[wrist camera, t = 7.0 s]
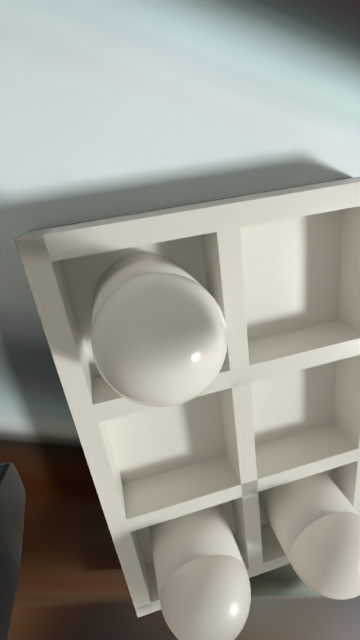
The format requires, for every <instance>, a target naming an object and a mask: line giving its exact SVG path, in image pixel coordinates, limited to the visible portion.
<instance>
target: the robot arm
mask: <svg viewBox="0 0 360 640" xmlns="http://www.w3.org/2000/svg"><path fill="white" fill-rule="evenodd" d="M24 512H25V489H24V486H23V484H22V482H21V479H20V477H19V475H18V473H17V470H16V468H15V466H14V465H13V464H12V463H10V462H7V463H3V464H0V640H7V639H8V634H9V628H10V623H11V617H12V612H13V606H14V601H15V595H16V590H17V584H18V578H19V572H20V563H21V551H22V538H23V525H24Z"/></svg>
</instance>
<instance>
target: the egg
mask: <svg viewBox="0 0 360 640" xmlns="http://www.w3.org/2000/svg"><path fill="white" fill-rule="evenodd" d="M227 344H228V338H227V327H226V322H225V319H224V316H223V313H222V311H221V309H220V307H219V305H218V304H217V302H216V301H215V299H214V298H213V297H212V295H211V294H210V293H209V292H208V291H207V290H206V289H205V288H204V287H203V286H202V285H201V284H199V283H198V282H197V281H196V280H195V279H194V278H193V277H192V276H190V275H189V274H188V273H187V272H186V271H185V270H184V269H183V268H182V267H180V266H179V265H178V264H177V263H176V262H174V261H173V260H171V259H169V258H167V257H165V256H163V255H159V254H156V253H143V252H142V253H135V254H131V255H128V256H125V257H123V258H121V259H119V260H117V261H115V262H114V263H113V264H111V265H110V266H109V267H108V268H107V269H106V270H105V271H104V273H103V274H102V275H101V277H100V279H99V280H98V282H97V285H96V287H95V291H94V295H93V310H92V330H91V346H92V353H93V358H94V361H95V363H96V366H97V368H98V370H99V372H100V374H101V376H102V377H103V379H104V380H105V381H106V383H107V384H108V385H109V386H110V387H111V388H112V389H113V390H114V391H115V392H116V393H118V394H119V395H120V396H122V397H124V398H125V399H127V400H129V401H131V402H133V403H136V404H138V405H142V406H147V407H157V408H164V407H172V406H177V405H180V404H183V403H185V402H188V401H190V400H192V399H193V398H195V397H197V396H198V395H199V394H201V393H202V392H203V391H204V390H206V389H207V388H208V387H209V385H210V384H211V383H212V382H213V381H214V379H215V378H216V376H217V375H218V373H219V372H220V370H221V368H222V365H223V363H224V360H225V356H226V351H227Z"/></svg>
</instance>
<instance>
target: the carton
mask: <svg viewBox="0 0 360 640" xmlns="http://www.w3.org/2000/svg"><path fill="white" fill-rule="evenodd" d="M15 243H16V246H17V249H18V252H19V255H20V258H21V261H22V264H23V267H24V271H25V274H26V277H27V280H28V283H29V286H30V289H31V292H32V295H33V298H34V301H35V304H36V307H37V310H38V313H39V316H40V319H41V322H42V326H43V329H44V332H45V335H46V338H47V341H48V344H49V347H50V350H51V353H52V356H53V359H54V362H55V365H56V368H57V371H58V374H59V377H60V381H61V384H62V387H63V390H64V393H65V396H66V399H67V402H68V405H69V408H70V411H71V414H72V417H73V420H74V423H75V426H76V429H77V432H78V436H79V439H80V442H81V445H82V448H83V451H84V454H85V457H86V460H87V463H88V466H89V469H90V472H91V475H92V478H93V481H94V484H95V487H96V491H97V494H98V497H99V500H100V503H101V506H102V509H103V512H104V515H105V518H106V521H107V524H108V527H109V530H110V533H111V536H112V539H113V543H114V546H115V549H116V552H117V555H118V558H119V561H120V564H121V567H122V570H123V573H124V576H125V579H126V582H127V585H128V588H129V591H130V594H131V598H132V601H133V604H134V607H135V610H136V613H137V616H138V617H140V616H144V615H146V614H149V613H152V612H155V611H158V610H160V609H161V610H162V613H163V616H164V618H165V621H166V623H167V625H168V626H169V628H170V629H171V631H172V632H173V634H174V635H175V636H176V637H177V638H178V639H179V640H234V639H235V638H236V637H237V636H238V634H239V633H240V632H241V630H242V628H243V626H244V624H245V622H246V620H247V616H248V613H249V608H250V602H251V589H250V582H249V578H251V577H254V576H256V575H259V574H262V573H265V572H268V571H270V570H273V569H276V568H279V567H282V566H285V565H287V564H291V566H292V567H293V569H294V571H295V572H296V574H297V575H298V576H299V578H300V579H301V580H302V581H303V582H304V583H305V584H306V585H307V586H308V587H310V588H311V589H312V590H314V591H316V592H317V593H319V594H321V595H323V596H326V597H328V598H332V599H341V600H344V599H350V598H354V597H357V596H359V595H360V177H353V178H347V179H341V180H335V181H329V182H323V183H317V184H311V185H305V186H299V187H293V188H287V189H281V190H275V191H269V192H263V193H257V194H251V195H245V196H239V197H232V198H226V199H220V200H214V201H208V202H202V203H196V204H190V205H184V206H178V207H172V208H166V209H160V210H154V211H148V212H142V213H136V214H130V215H124V216H118V217H112V218H105V219H99V220H93V221H87V222H81V223H75V224H69V225H63V226H57V227H51V228H45V229H39V230H33V231H29V232H27V233H26V234H24V235H22V236H20V237H19V238H17V239H15ZM142 252H143V253H156V254H159V255H163V256H165V257H167V258H169V259H171V260H173V261H174V262H176V263H177V264H178V265H179V266H180V267H182V268H183V269H184V270H185V271H186V272H187V273H188V274H189V275H190V276H192V277H193V278H194V279H195V280H196V281H197V282H198V283H199V284H201V285H202V286H203V287H204V288H205V289H206V290H207V291H208V292H209V293H210V294H211V295H212V297H213V298H214V299H215V301H216V302H217V304H218V305H219V307H220V309H221V311H222V313H223V316H224V319H225V322H226V327H227V338H228V344H227V351H226V356H225V360H224V363H223V365H222V368H221V370H220V372H219V373H218V375H217V376H216V378H215V379H214V381H213V382H212V383H211V384H210V385H209V387H208V388H207V389H206V390H204V391H203V392H202V393H201V394H199V395H198V396H197V397H195V398H193V399H192V400H190V401H188V402H185V403H183V404H180V405H177V406H172V407H164V408H157V407H147V406H142V405H138V404H136V403H133V402H131V401H129V400H127V399H125V398H124V397H122V396H120V395H119V394H118V393H116V392H115V391H114V390H113V389H112V388H111V387H110V386H109V385H108V384H107V383H106V381H105V380H104V379H103V377H102V376H101V374H100V372H99V370H98V368H97V366H96V363H95V361H94V358H93V353H92V346H91V330H92V310H93V295H94V291H95V287H96V285H97V282H98V280H99V279H100V277H101V275H102V274H103V273H104V271H105V270H106V269H107V268H108V267H109V266H110V265H111V264H113V263H114V262H115V261H117V260H119V259H121V258H123V257H125V256H128V255H131V254H135V253H142Z"/></svg>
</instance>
